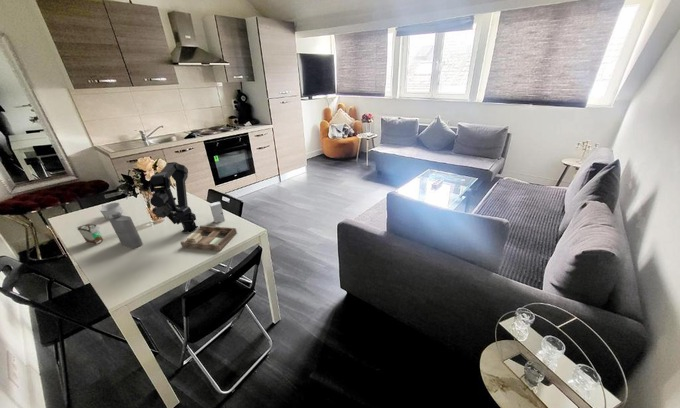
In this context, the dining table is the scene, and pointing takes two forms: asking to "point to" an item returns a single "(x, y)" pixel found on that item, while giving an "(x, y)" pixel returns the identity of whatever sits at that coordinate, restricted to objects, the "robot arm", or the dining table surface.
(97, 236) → the food container
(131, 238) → the flask
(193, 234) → the birch block
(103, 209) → the teacup
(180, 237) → the dining table surface
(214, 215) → the skincare box
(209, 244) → the box
